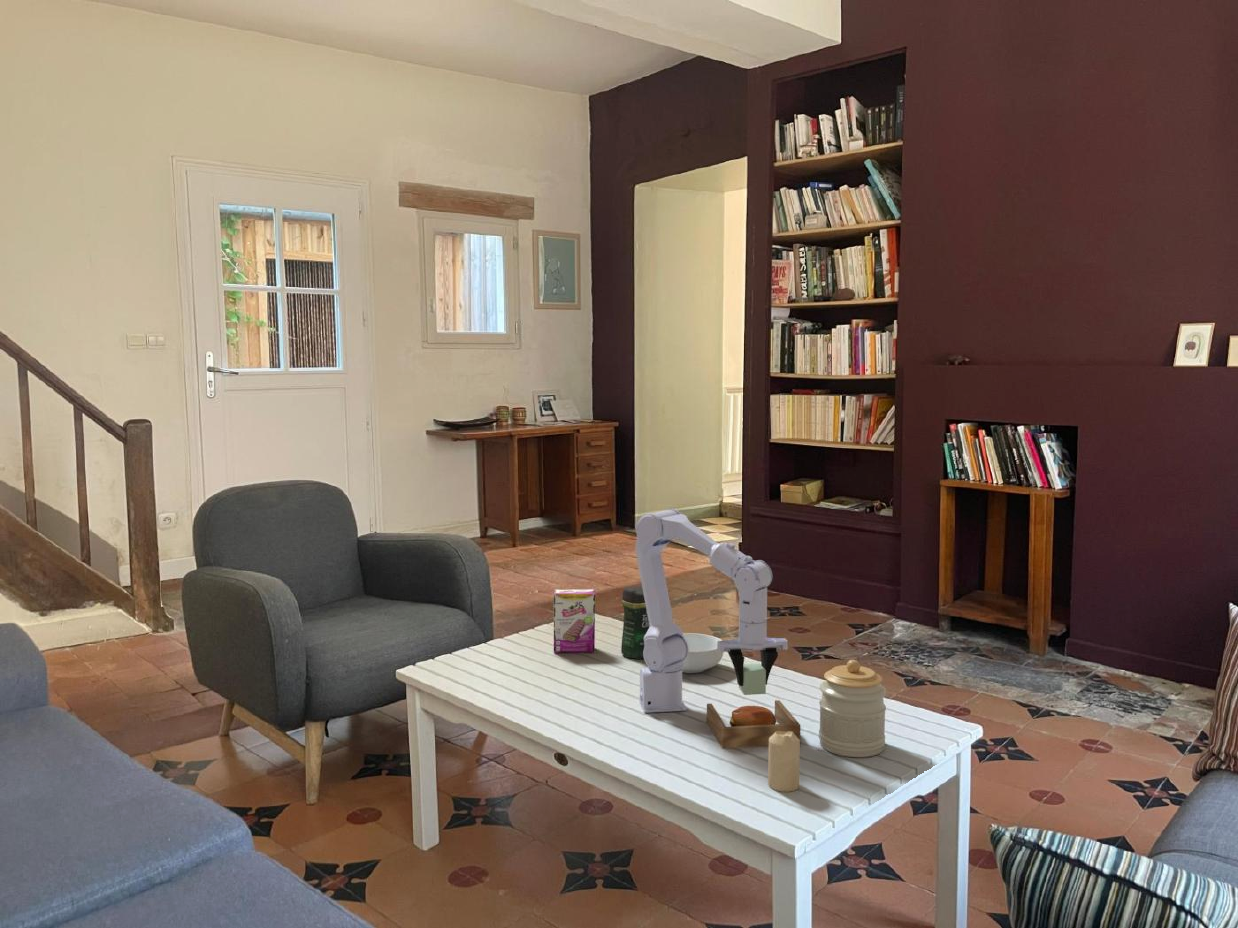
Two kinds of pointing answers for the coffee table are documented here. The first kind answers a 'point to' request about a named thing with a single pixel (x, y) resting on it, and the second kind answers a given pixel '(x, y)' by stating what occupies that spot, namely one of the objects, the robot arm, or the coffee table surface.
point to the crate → (751, 729)
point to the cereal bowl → (701, 652)
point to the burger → (752, 716)
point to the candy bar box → (574, 621)
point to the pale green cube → (753, 679)
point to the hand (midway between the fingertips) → (752, 683)
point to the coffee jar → (634, 622)
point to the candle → (784, 761)
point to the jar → (852, 711)
